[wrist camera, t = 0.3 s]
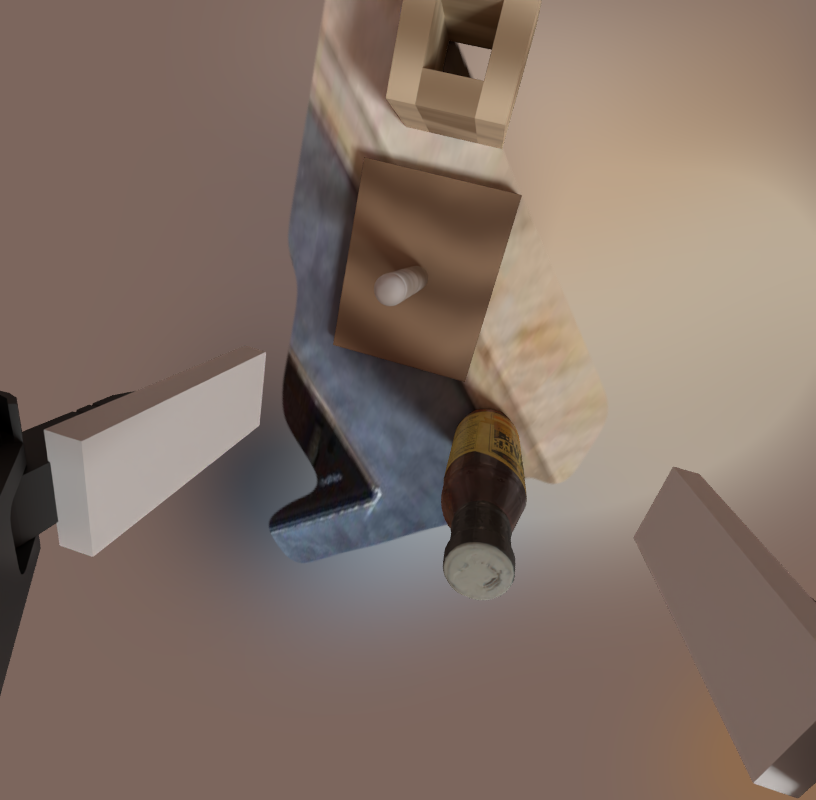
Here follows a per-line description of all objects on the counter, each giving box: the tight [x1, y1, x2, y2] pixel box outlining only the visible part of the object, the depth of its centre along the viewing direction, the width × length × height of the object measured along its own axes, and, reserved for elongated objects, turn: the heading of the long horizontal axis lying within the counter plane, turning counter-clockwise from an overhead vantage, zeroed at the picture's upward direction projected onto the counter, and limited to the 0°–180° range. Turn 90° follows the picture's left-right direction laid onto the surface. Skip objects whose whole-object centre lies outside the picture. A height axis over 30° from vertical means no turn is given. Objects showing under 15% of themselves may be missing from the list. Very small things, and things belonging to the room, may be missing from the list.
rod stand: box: [333, 157, 522, 382], centre depth 31 cm, size 16×13×14 cm
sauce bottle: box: [441, 409, 527, 600], centre depth 32 cm, size 6×6×20 cm
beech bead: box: [386, 0, 542, 149], centre depth 28 cm, size 8×8×7 cm
